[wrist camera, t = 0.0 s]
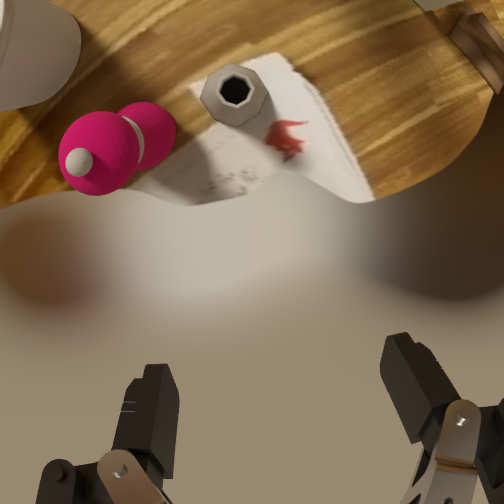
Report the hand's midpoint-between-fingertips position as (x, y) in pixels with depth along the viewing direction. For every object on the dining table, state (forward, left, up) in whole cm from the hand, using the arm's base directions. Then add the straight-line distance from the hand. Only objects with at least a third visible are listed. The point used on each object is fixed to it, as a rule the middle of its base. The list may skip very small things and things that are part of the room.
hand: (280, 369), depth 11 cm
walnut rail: (-19, +37, -29) cm, 51 cm away
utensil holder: (-21, -24, -30) cm, 44 cm away
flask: (-10, 0, -30) cm, 31 cm away
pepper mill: (-7, -10, -30) cm, 32 cm away
